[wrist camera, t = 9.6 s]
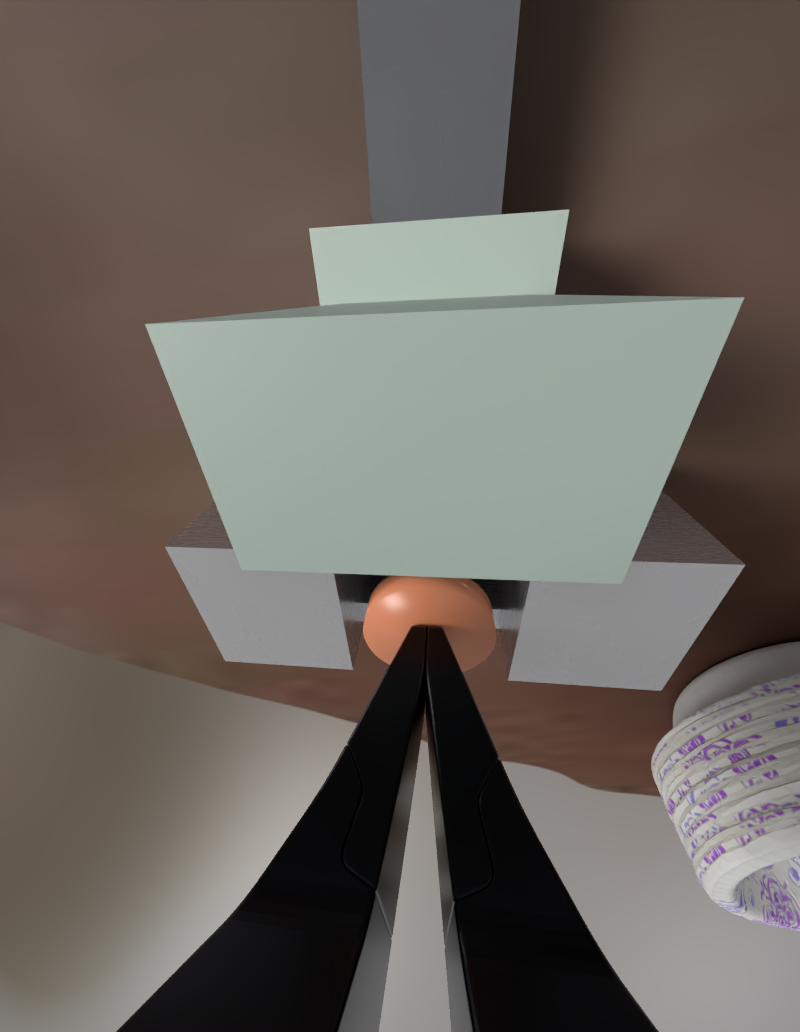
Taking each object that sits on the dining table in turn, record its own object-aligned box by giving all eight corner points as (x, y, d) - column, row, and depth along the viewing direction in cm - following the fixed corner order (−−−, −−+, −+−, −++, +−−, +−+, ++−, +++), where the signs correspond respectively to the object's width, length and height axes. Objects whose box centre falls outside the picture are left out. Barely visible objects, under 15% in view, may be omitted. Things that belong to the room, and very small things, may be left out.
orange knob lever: (383, 489, 13) (356, 586, 8) (482, 491, 12) (504, 592, 8) (389, 563, 15) (369, 671, 10) (474, 566, 14) (489, 679, 10)
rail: (347, -443, 5) (305, -778, 4) (548, -499, 5) (602, -897, 3) (394, 444, 13) (388, 466, 12) (473, 444, 13) (478, 466, 11)
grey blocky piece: (263, 456, 14) (165, 546, 9) (624, 456, 13) (745, 565, 8) (289, 551, 17) (225, 661, 12) (588, 560, 15) (661, 690, 10)
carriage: (347, 247, 10) (-48, 53, 2) (529, 235, 9) (1055, -106, 1) (364, 421, 12) (234, 641, 5) (505, 420, 12) (631, 666, 4)
